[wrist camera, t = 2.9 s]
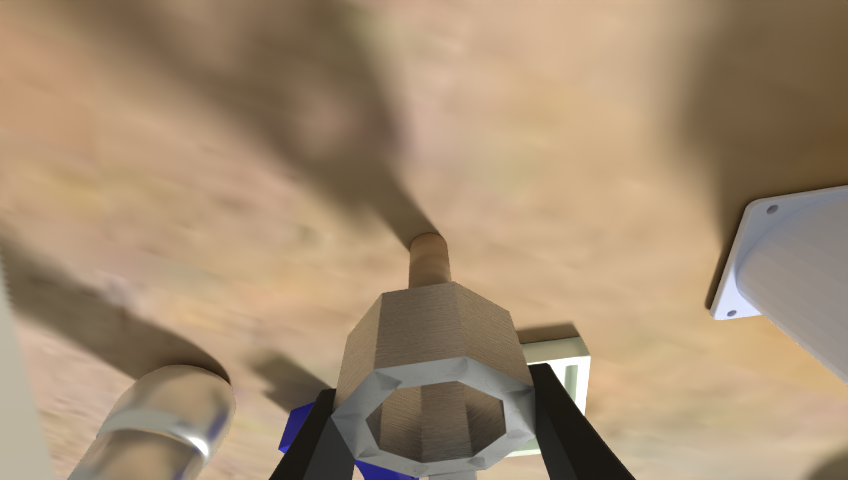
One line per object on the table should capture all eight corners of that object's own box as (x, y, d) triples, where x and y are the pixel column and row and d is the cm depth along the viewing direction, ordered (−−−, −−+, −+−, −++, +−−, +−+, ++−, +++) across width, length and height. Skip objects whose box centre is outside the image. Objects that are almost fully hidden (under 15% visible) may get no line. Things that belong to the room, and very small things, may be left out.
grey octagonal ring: (506, 272, 11) (534, 345, 8) (515, 405, 15) (537, 484, 12) (332, 301, 11) (309, 378, 9) (385, 423, 15) (379, 502, 13)
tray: (580, 336, 22) (590, 355, 21) (573, 430, 28) (580, 449, 26) (414, 358, 23) (413, 377, 22) (439, 444, 29) (440, 463, 27)
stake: (444, 230, 18) (450, 276, 14) (449, 260, 19) (456, 311, 15) (406, 236, 18) (403, 284, 15) (414, 266, 19) (413, 317, 16)
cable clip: (292, 408, 26) (260, 499, 21) (339, 390, 25) (319, 482, 20) (376, 474, 32) (368, 560, 27) (418, 462, 31) (418, 548, 26)
